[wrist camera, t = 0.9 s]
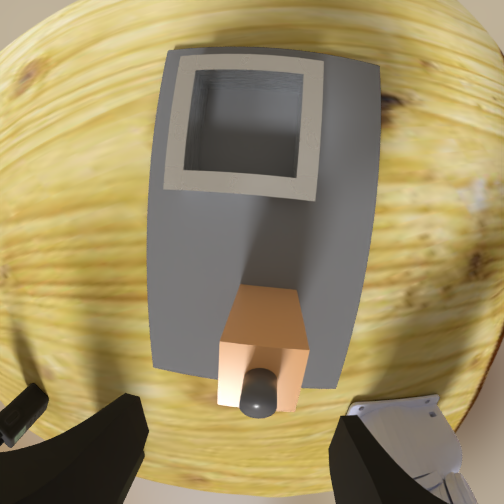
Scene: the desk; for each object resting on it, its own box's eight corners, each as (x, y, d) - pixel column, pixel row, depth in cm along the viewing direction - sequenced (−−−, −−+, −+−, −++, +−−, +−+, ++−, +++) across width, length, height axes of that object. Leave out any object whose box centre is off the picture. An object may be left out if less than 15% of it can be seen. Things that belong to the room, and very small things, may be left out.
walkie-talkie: (46, 411, 24) (-11, 475, 10) (28, 393, 24) (-31, 453, 9) (50, 397, 23) (-15, 468, 9) (31, 378, 23) (-37, 443, 8)
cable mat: (375, 70, 14) (379, 65, 13) (334, 382, 19) (335, 388, 18) (171, 55, 15) (168, 50, 14) (156, 361, 20) (153, 367, 19)
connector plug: (296, 289, 17) (314, 374, 9) (289, 338, 18) (296, 436, 9) (240, 284, 17) (211, 364, 9) (236, 333, 18) (210, 428, 10)
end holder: (315, 81, 14) (323, 61, 11) (307, 199, 16) (315, 201, 13) (194, 75, 15) (180, 56, 12) (181, 189, 16) (163, 189, 13)
